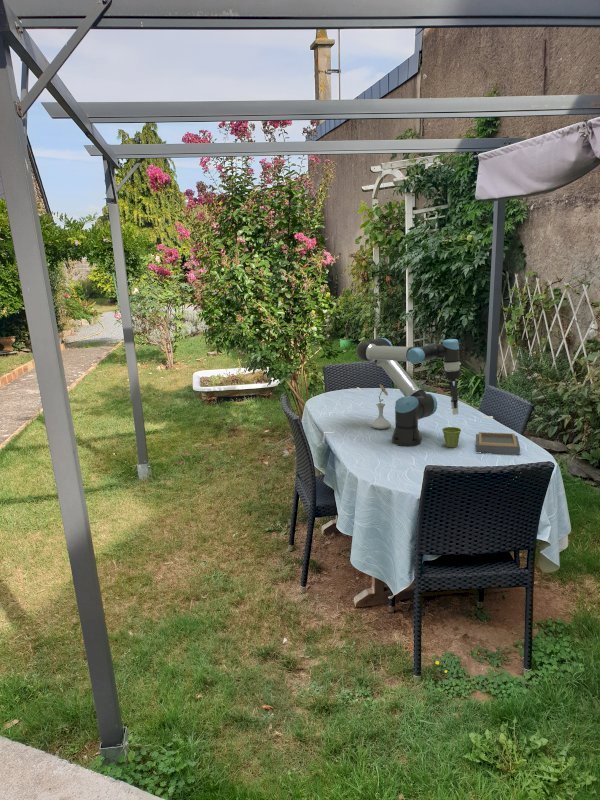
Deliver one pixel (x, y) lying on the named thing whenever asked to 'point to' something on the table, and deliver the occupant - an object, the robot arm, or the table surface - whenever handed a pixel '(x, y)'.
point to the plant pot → (451, 436)
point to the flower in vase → (381, 414)
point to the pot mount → (497, 443)
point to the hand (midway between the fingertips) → (455, 411)
